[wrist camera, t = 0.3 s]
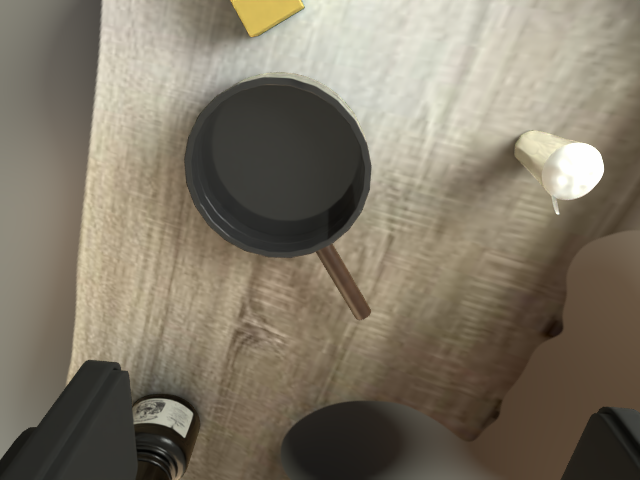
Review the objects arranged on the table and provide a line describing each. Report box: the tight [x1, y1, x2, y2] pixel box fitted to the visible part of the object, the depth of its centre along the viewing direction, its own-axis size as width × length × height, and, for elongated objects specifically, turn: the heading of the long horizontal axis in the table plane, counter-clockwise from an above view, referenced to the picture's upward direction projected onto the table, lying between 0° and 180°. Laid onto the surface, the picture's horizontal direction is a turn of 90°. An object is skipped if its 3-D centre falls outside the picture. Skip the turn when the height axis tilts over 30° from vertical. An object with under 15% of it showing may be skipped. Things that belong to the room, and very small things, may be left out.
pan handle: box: [316, 244, 371, 320], centre depth 46 cm, size 9×2×2 cm, turn 28°
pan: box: [184, 72, 371, 258], centre depth 42 cm, size 16×16×4 cm
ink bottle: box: [132, 394, 200, 480], centre depth 53 cm, size 10×9×12 cm
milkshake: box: [514, 130, 604, 215], centre depth 39 cm, size 4×5×10 cm
